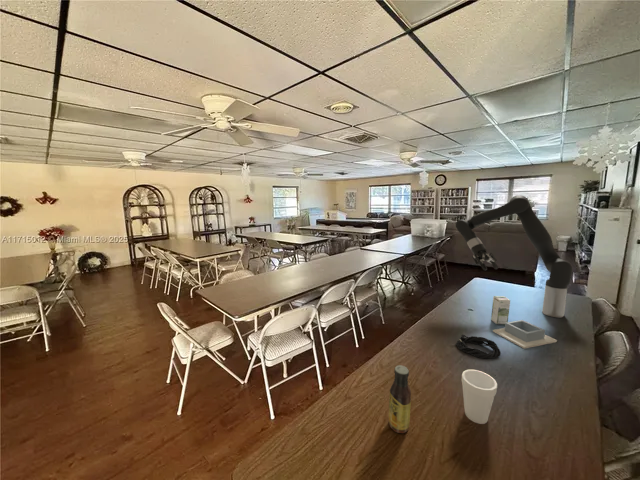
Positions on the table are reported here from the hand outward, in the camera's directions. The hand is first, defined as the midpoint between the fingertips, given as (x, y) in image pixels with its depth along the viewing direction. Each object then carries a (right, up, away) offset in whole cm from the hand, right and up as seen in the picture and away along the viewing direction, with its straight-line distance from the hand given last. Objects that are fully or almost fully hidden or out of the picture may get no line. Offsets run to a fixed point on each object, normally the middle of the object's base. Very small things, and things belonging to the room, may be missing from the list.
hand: (491, 269), depth 152 cm
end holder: (0, -31, -24) cm, 39 cm away
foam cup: (-51, -40, -69) cm, 95 cm away
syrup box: (-2, -29, -9) cm, 30 cm away
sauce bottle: (-77, -41, -72) cm, 113 cm away
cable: (-29, -34, -34) cm, 56 cm away
